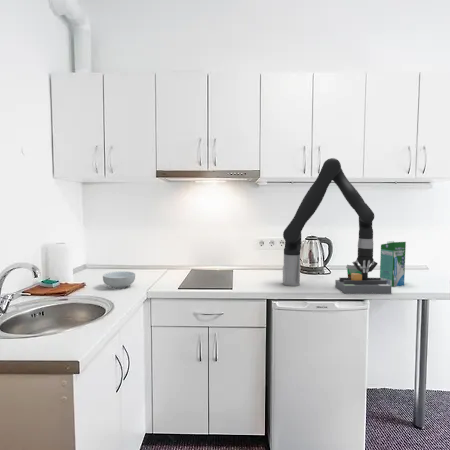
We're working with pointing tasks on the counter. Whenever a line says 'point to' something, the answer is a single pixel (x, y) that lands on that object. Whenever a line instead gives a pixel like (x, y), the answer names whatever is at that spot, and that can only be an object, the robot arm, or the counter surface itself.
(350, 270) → the food container
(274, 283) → the counter surface
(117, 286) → the cereal bowl
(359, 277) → the switch knob
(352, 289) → the switch plate
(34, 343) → the counter surface
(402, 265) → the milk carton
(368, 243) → the robot arm
